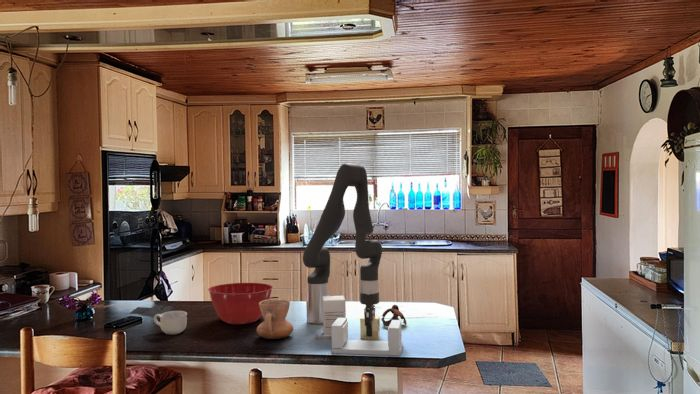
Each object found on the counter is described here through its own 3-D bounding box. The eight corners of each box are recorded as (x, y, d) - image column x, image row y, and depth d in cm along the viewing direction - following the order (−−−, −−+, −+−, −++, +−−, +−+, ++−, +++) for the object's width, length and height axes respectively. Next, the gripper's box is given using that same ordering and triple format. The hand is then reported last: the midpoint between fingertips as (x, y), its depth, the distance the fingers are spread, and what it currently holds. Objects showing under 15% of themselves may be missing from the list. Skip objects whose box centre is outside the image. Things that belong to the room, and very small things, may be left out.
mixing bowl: (257, 311, 260) (257, 279, 260) (284, 323, 236) (283, 288, 236) (200, 320, 244) (199, 286, 244) (222, 333, 221) (221, 296, 220)
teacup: (192, 330, 226) (192, 311, 226) (176, 337, 216) (175, 317, 216) (165, 328, 231) (164, 309, 231) (148, 334, 221) (147, 315, 221)
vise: (331, 352, 191) (331, 326, 191) (338, 343, 203) (337, 318, 203) (400, 355, 187) (400, 328, 187) (403, 345, 199) (402, 320, 199)
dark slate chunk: (144, 311, 266) (144, 301, 266) (181, 314, 259) (181, 304, 259) (122, 318, 252) (122, 308, 252) (161, 321, 245) (160, 311, 245)
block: (378, 339, 207) (378, 319, 207) (360, 339, 209) (360, 318, 208) (379, 336, 212) (379, 316, 212) (362, 335, 213) (361, 315, 213)
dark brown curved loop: (408, 330, 225) (397, 319, 221) (389, 337, 229) (378, 327, 225) (408, 308, 234) (397, 297, 230) (390, 315, 238) (379, 305, 234)
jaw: (315, 347, 192) (315, 325, 192) (322, 338, 204) (322, 317, 204) (342, 348, 191) (342, 325, 191) (348, 339, 202) (348, 317, 202)
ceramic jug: (265, 330, 224) (265, 296, 224) (298, 332, 221) (298, 297, 221) (248, 342, 206) (248, 306, 206) (284, 344, 203) (284, 307, 203)
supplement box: (322, 332, 220) (322, 295, 220) (344, 331, 221) (344, 295, 220) (323, 338, 211) (322, 300, 211) (346, 337, 212) (345, 299, 211)
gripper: (362, 287, 218) (363, 329, 218) (357, 294, 204) (357, 339, 204) (381, 287, 216) (381, 330, 217) (376, 294, 202) (377, 339, 202)
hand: (370, 334), depth 210 cm, fingers closed on block, 4 cm apart
